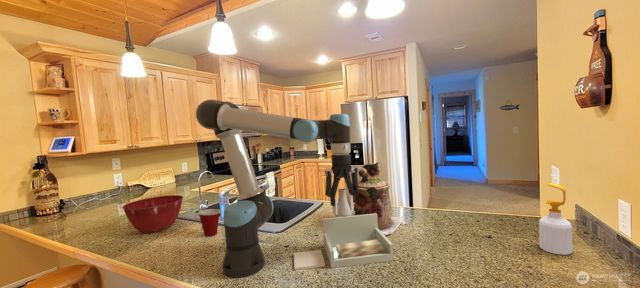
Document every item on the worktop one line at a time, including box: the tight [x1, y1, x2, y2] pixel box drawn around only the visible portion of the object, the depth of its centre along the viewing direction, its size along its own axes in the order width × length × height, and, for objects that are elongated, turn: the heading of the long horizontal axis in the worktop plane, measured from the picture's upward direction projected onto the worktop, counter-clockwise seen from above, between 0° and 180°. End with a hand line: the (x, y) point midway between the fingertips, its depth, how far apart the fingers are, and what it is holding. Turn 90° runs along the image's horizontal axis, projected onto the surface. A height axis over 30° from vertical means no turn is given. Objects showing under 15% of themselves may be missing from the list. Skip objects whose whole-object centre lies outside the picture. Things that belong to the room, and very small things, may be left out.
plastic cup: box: [197, 208, 222, 237], centre depth 135 cm, size 11×11×12 cm
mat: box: [293, 249, 326, 271], centre depth 102 cm, size 11×12×1 cm
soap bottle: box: [538, 182, 573, 256], centre depth 98 cm, size 9×9×25 cm
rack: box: [322, 213, 395, 269], centre depth 105 cm, size 23×18×12 cm
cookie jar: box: [353, 161, 406, 236], centre depth 133 cm, size 25×25×32 cm
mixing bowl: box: [121, 194, 184, 234], centre depth 149 cm, size 28×28×16 cm
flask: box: [333, 188, 353, 217], centre depth 106 cm, size 7×7×10 cm
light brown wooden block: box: [335, 240, 384, 259], centre depth 100 cm, size 17×4×6 cm, turn 100°
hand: (343, 212), depth 106 cm, fingers closed on flask, 6 cm apart
